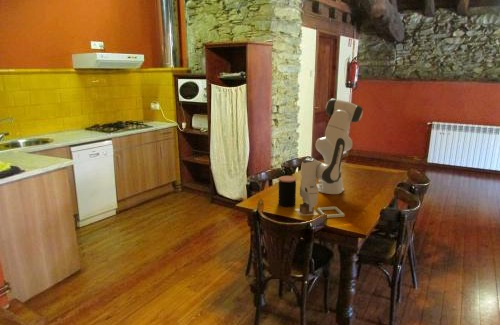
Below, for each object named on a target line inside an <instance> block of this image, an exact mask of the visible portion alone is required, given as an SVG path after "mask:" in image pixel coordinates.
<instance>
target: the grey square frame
mask: <svg viewBox="0 0 500 325" xmlns="http://www.w3.org/2000/svg"><path fill="white" fill-rule="evenodd" d="M316 209H317V210H316V212H317V213H318V214H320V215H321V216H322V214H325V213H324V212H323V211H333V210H335V211H336V213H332V214H331V213H330V214H326V215H327V218H326V219H330V218H341V217H343V218H344V217H345V213H344V212H343V211H342V210H341V209H339V208H338V207H337V206H327V207H326V206H324V207H323V206H322V207H317V208H316Z"/></svg>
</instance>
